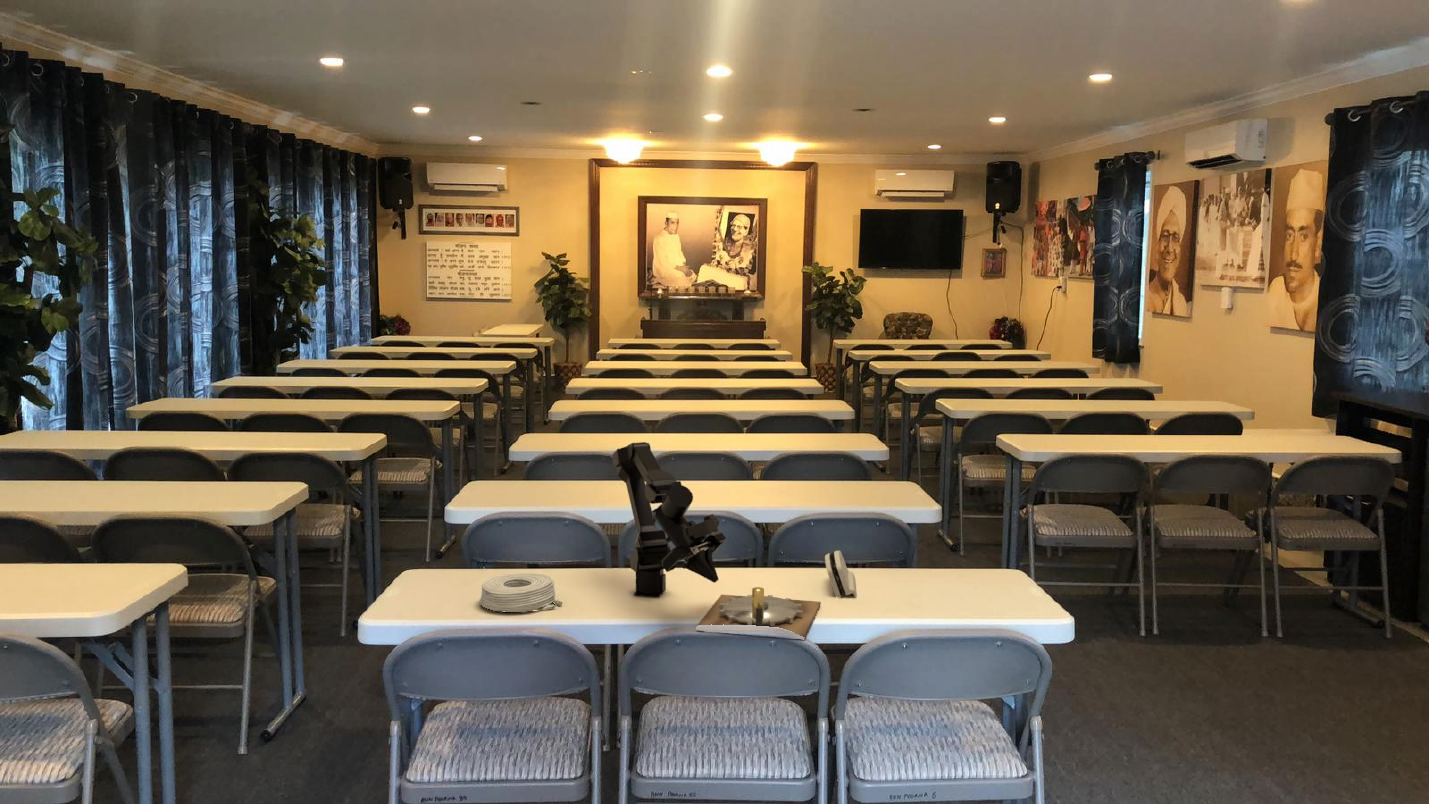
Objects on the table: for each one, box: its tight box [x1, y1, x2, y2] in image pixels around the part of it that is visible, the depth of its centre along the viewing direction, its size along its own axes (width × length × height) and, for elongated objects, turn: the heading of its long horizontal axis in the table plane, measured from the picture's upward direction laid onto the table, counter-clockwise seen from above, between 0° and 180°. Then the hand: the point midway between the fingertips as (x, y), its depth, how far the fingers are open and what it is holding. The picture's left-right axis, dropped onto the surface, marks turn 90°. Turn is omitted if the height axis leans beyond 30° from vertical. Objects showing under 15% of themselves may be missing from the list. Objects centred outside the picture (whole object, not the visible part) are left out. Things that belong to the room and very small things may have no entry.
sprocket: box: [719, 586, 802, 627], centre depth 241 cm, size 19×19×8 cm
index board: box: [697, 594, 822, 639], centre depth 242 cm, size 24×24×6 cm
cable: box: [479, 572, 564, 613], centre depth 253 cm, size 18×18×6 cm
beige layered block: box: [824, 550, 858, 598], centre depth 264 cm, size 17×5×10 cm, turn 174°
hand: (716, 581), depth 239 cm, fingers closed
